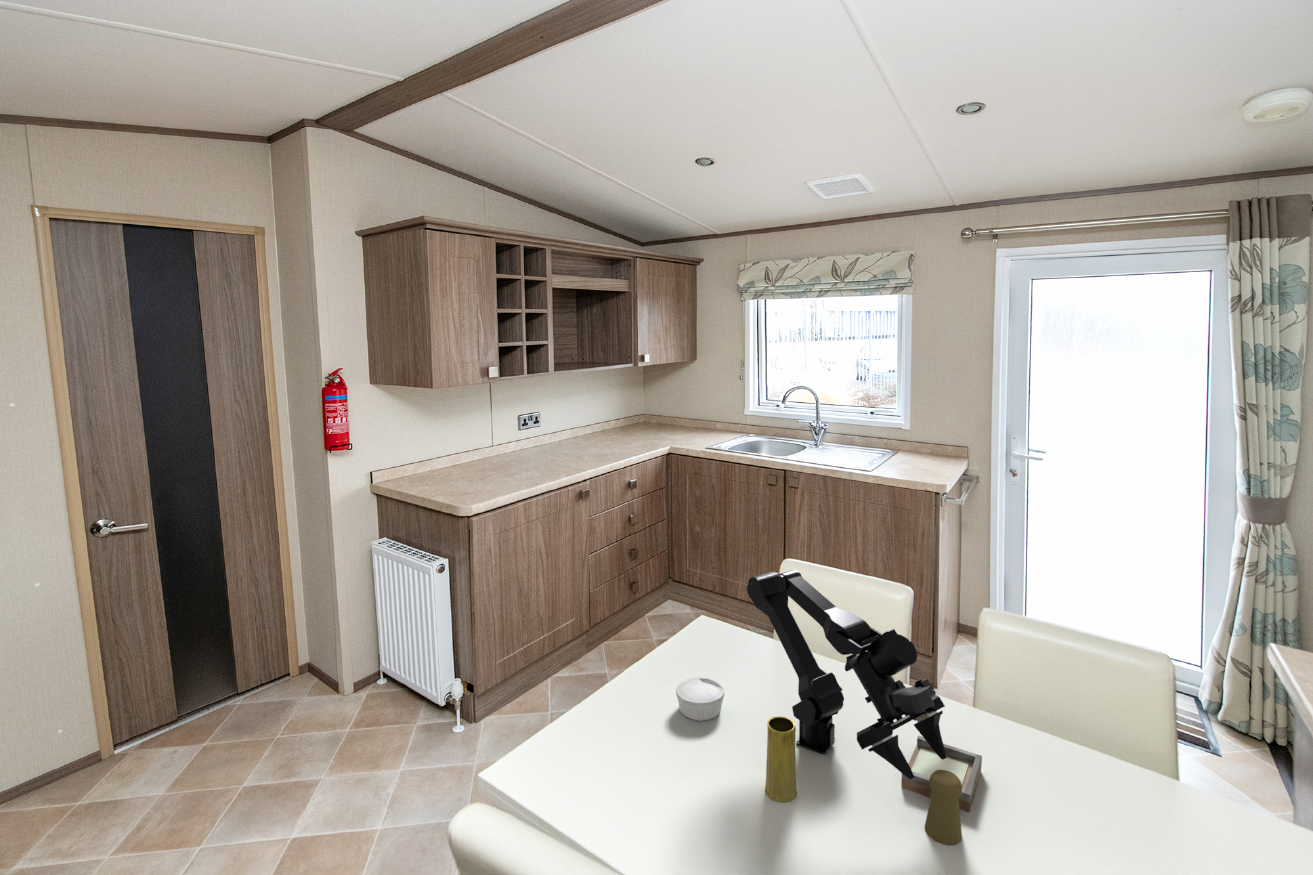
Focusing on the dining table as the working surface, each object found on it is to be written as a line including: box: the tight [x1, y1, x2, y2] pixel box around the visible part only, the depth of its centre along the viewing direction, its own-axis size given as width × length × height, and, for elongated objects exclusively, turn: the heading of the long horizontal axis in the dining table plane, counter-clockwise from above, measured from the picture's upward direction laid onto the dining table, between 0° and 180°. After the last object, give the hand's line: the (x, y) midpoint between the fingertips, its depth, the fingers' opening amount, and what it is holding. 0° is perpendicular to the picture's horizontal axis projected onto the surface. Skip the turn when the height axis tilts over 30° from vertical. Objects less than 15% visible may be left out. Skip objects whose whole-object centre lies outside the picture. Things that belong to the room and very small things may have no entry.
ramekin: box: [675, 677, 725, 722], centre depth 152 cm, size 11×11×5 cm
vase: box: [764, 715, 798, 803], centre depth 124 cm, size 6×6×14 cm
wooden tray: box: [900, 735, 983, 813], centre depth 126 cm, size 12×13×4 cm
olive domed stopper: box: [924, 770, 963, 846], centre depth 113 cm, size 6×6×11 cm
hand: (928, 768), depth 115 cm, fingers open, 9 cm apart
